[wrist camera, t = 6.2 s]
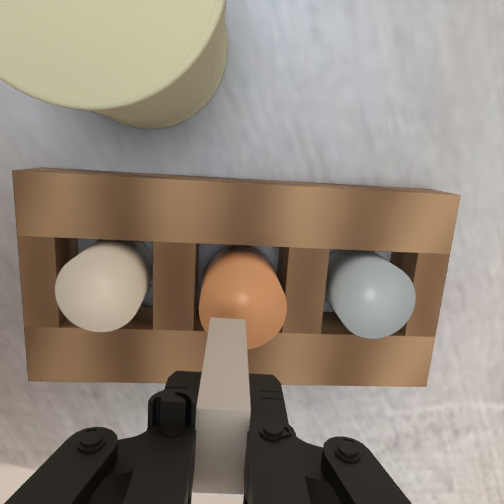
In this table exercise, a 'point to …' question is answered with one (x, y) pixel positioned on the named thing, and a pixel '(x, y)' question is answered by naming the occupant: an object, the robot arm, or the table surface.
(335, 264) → the blue-grey egg
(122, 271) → the white egg
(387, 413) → the table surface
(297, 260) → the wooden egg holder
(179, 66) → the can
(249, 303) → the orange egg
